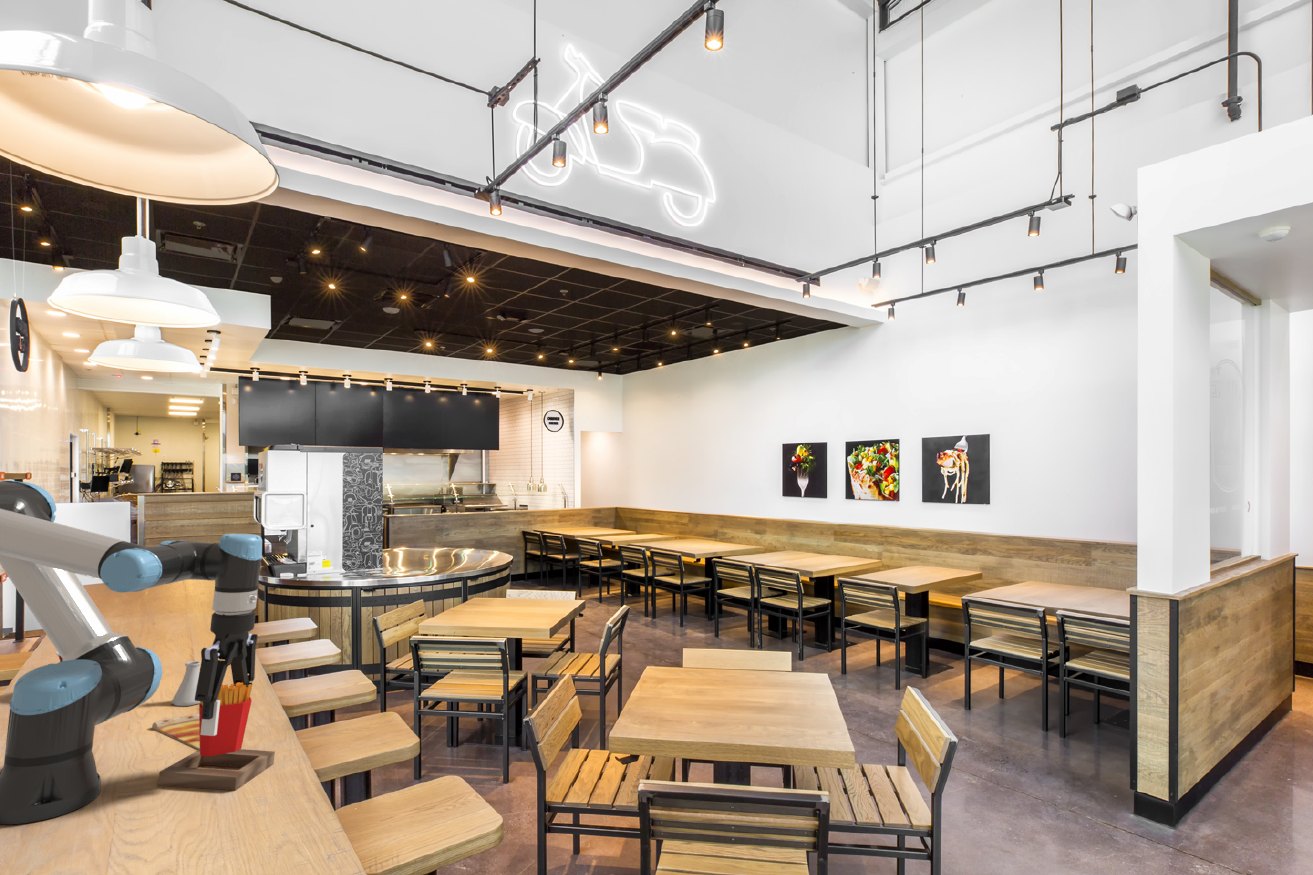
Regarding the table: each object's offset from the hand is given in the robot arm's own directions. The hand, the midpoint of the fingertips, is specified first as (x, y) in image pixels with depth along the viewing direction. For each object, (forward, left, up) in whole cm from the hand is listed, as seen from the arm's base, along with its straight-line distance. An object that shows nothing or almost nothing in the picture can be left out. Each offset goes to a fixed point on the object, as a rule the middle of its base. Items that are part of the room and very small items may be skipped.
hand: (221, 727), depth 131 cm
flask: (+37, +34, -9) cm, 51 cm away
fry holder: (0, 0, -9) cm, 9 cm away
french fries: (0, 0, -5) cm, 5 cm away
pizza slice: (+18, +21, -10) cm, 29 cm away
